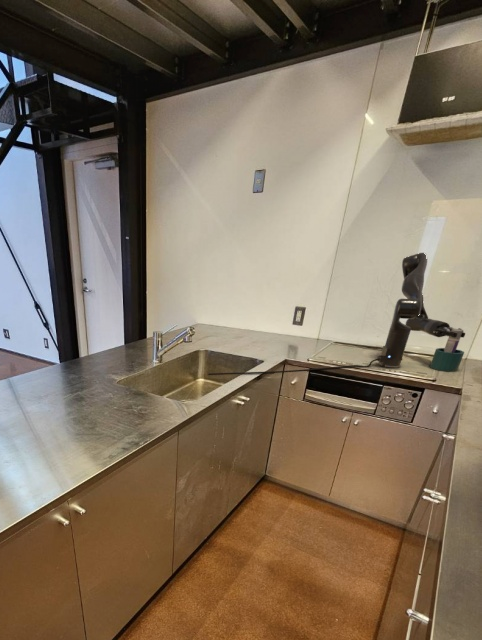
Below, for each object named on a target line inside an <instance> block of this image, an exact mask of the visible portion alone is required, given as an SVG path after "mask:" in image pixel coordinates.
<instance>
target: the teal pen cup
mask: <svg viewBox="0 0 482 640" xmlns="http://www.w3.org/2000/svg"><path fill="white" fill-rule="evenodd" d="M444 349H445V347H439V348H436V349H435V351H434V353H433V357H432V359H431V361H430V368H431V369H432V370H437V371H441V372H457V371H458V370H459V367H460V365H461V363H462V360H463V357H464V354H465V351H463V350H461V349H457V348H456V351H455V353H448V352H443V351H444Z"/></svg>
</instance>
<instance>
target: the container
mask: <svg viewBox="0 0 482 640" xmlns="http://www.w3.org/2000/svg"><path fill="white" fill-rule="evenodd" d="M460 329H461V328H460ZM460 329H459V328H455V329H452V330H451V332H455V333H457V337H456V338H454V337H451V336H448V338H447V341H446V343H445V346H444V348H445V349H444V351H443V352H448V353H455V351H456V349H457V348H458V346H459V343H460V340H461V338H462V337H461V334H462V332H464V329H462V330H460Z"/></svg>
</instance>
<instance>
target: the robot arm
mask: <svg viewBox="0 0 482 640" xmlns="http://www.w3.org/2000/svg"><path fill="white" fill-rule="evenodd" d="M424 253H425V252H419V254H418V253H415V254H412V255H408V256H409V257H408V256H406V258H405V257H404V258H403V259H402V261H401V269H402V276H403V281H402V285H401V293H402V295H403V296H404V297H405V298H399V299H398V300H397V301H396V302H395V303H396V304H395V306H394V310H393V313H392V320H391V324H390V326H389V330H388V333H387V337H386V340H385V344H384V345H383V346H382V349H381V353H380V355H377V357H376V358H375V359H372V360H370V362H369V364H368V365H360V364H359V365H358V364H351V365H350V364H349V365H339V366H328V367H318V368H307V369H291V370H290V369H289V370H272V371H270V370H269V371H246V372H245V371H244V372H242V371H241V372H239V371H238V372H214V373H213V372H208V373H207V375H208V376H220V375H223V376H224V375H253V374H254V375H255V374H256V375H257V374H259V375H260V374H281V373H282V374H283V373H296V372H298V373H299V372H309V371H322V370H334V369H343V368H355V367H357V368H369V367H371V365H372V364H373V363H374V362H378V365H379V366H380V367H383V368H389V369H391V368H393V369H394V368H395V369H396V368H400V367H401V364H402V361H403V356H404V353H405V351H406V347H407V343H408V341H409V337H410V334H411V331H413V332H423V333H426V334H428V335H430V336H433V337H437V338H443V337H449V336H451V337H454V338H456V337H457V333H455V332H451V330H452V329H456V328H455V327H453V326H450V323H448V322H445V321H442V320H438V319H432V318H429V315H428V314H427V312H426V308H425V305H424V304H425V303H423V301H424V294H423V290H424V283H425V273H426V270H427V267H428V258H427V259H426V255H427V254H426V253H425V254H426V255H425V254H424ZM422 294H423V295H422ZM419 314H420V315H419ZM418 315H419V316H418ZM400 319H401V320H402V319H403V320H405V323H403V322H402V321H401V320H400ZM458 329H460V330H463V329H462V328H458ZM465 337H466V332H464V331H463V332H462V334H461V337H460V338H465Z"/></svg>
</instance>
